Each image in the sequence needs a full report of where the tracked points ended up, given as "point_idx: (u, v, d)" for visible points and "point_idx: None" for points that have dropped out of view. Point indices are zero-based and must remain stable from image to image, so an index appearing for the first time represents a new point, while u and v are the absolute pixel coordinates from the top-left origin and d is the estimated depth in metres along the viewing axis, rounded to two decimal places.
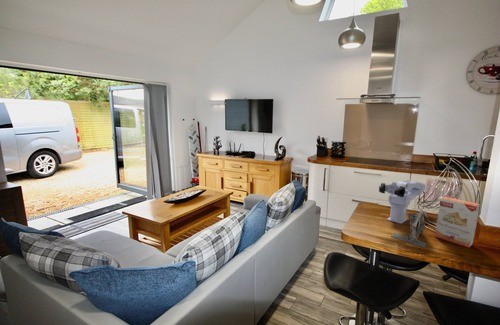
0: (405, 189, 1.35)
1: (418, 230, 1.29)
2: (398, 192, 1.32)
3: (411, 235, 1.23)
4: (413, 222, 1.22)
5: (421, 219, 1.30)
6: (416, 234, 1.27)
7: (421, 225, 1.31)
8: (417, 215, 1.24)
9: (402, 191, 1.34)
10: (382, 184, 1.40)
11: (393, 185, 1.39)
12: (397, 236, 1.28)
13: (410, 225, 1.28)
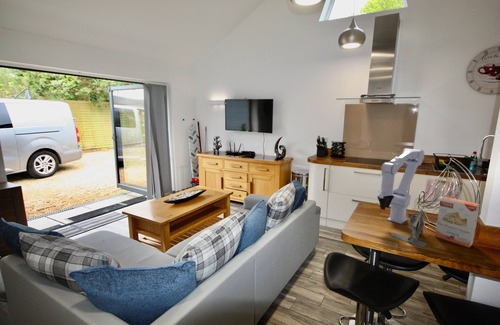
0: None
1: (418, 230, 1.29)
2: (383, 203, 1.37)
3: (411, 235, 1.23)
4: (413, 222, 1.22)
5: (421, 219, 1.30)
6: (416, 234, 1.27)
7: (421, 225, 1.31)
8: (417, 215, 1.24)
9: None
10: None
11: None
12: (397, 236, 1.28)
13: (410, 225, 1.28)
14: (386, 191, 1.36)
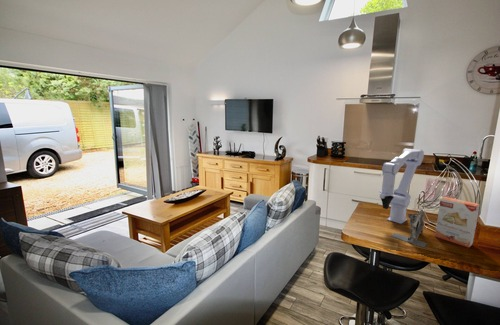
0: None
1: (418, 230, 1.29)
2: (385, 203, 1.39)
3: (411, 235, 1.23)
4: (413, 222, 1.22)
5: (421, 219, 1.30)
6: (416, 234, 1.27)
7: (421, 225, 1.31)
8: (417, 215, 1.24)
9: None
10: None
11: None
12: (397, 236, 1.28)
13: (410, 225, 1.28)
14: (387, 191, 1.36)
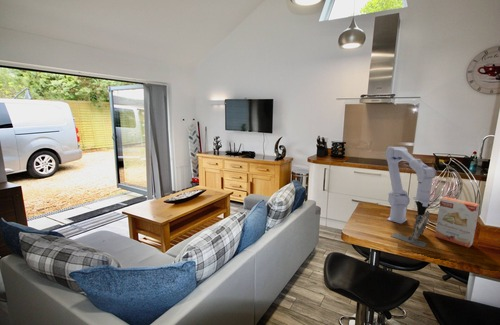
0: (422, 201, 1.25)
1: (420, 230, 1.28)
2: (421, 210, 1.30)
3: (413, 235, 1.22)
4: (418, 223, 1.21)
5: (425, 220, 1.29)
6: (417, 234, 1.27)
7: (423, 226, 1.30)
8: (423, 217, 1.22)
9: None
10: (416, 204, 1.32)
11: None
12: (397, 236, 1.28)
13: (413, 225, 1.27)
14: (426, 198, 1.26)
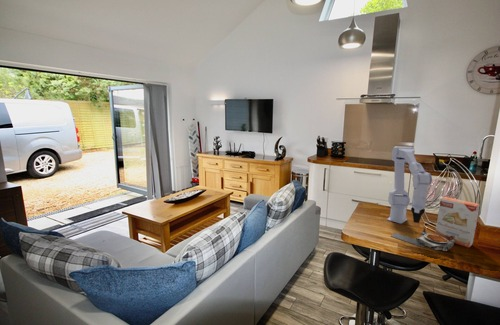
0: (414, 207, 1.22)
1: None
2: (417, 216, 1.26)
3: (422, 242, 1.19)
4: (440, 247, 1.15)
5: None
6: None
7: None
8: (449, 248, 1.16)
9: None
10: None
11: None
12: (397, 236, 1.28)
13: (433, 236, 1.21)
14: (420, 204, 1.23)
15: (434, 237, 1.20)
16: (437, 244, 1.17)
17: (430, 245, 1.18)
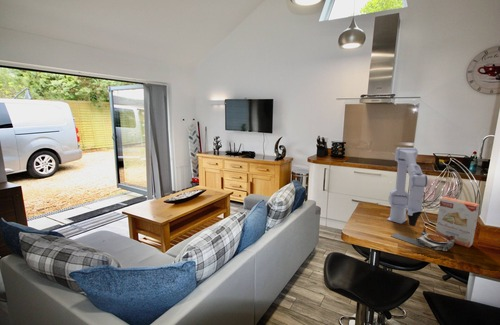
0: (408, 210, 1.19)
1: None
2: (412, 219, 1.22)
3: (422, 242, 1.19)
4: (440, 247, 1.15)
5: None
6: None
7: None
8: (449, 248, 1.16)
9: None
10: None
11: None
12: (397, 236, 1.28)
13: (433, 236, 1.21)
14: (415, 207, 1.19)
15: (434, 237, 1.20)
16: (437, 244, 1.17)
17: (430, 245, 1.18)
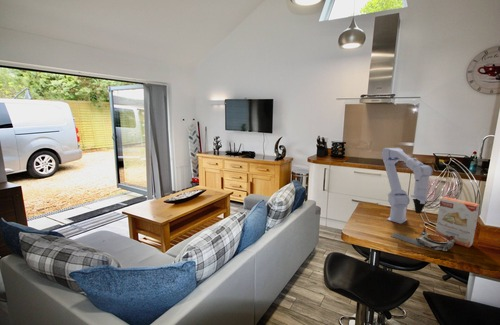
0: (419, 199, 1.27)
1: None
2: (419, 207, 1.32)
3: (422, 242, 1.19)
4: (440, 247, 1.15)
5: None
6: None
7: None
8: (449, 248, 1.16)
9: None
10: None
11: None
12: (397, 236, 1.28)
13: (433, 236, 1.21)
14: (423, 195, 1.29)
15: (434, 237, 1.20)
16: (437, 244, 1.17)
17: (430, 245, 1.18)
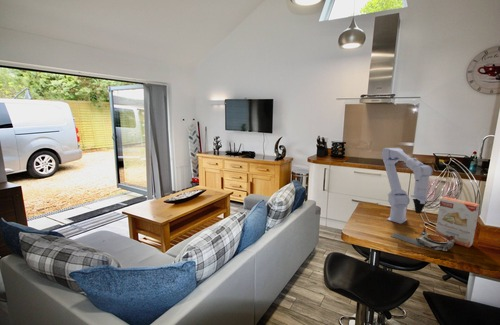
0: (419, 199, 1.27)
1: None
2: (419, 207, 1.32)
3: (422, 242, 1.19)
4: (440, 247, 1.15)
5: None
6: None
7: None
8: (449, 248, 1.16)
9: None
10: None
11: None
12: (397, 236, 1.28)
13: (433, 236, 1.21)
14: (423, 195, 1.29)
15: (434, 237, 1.20)
16: (437, 244, 1.17)
17: (430, 245, 1.18)
